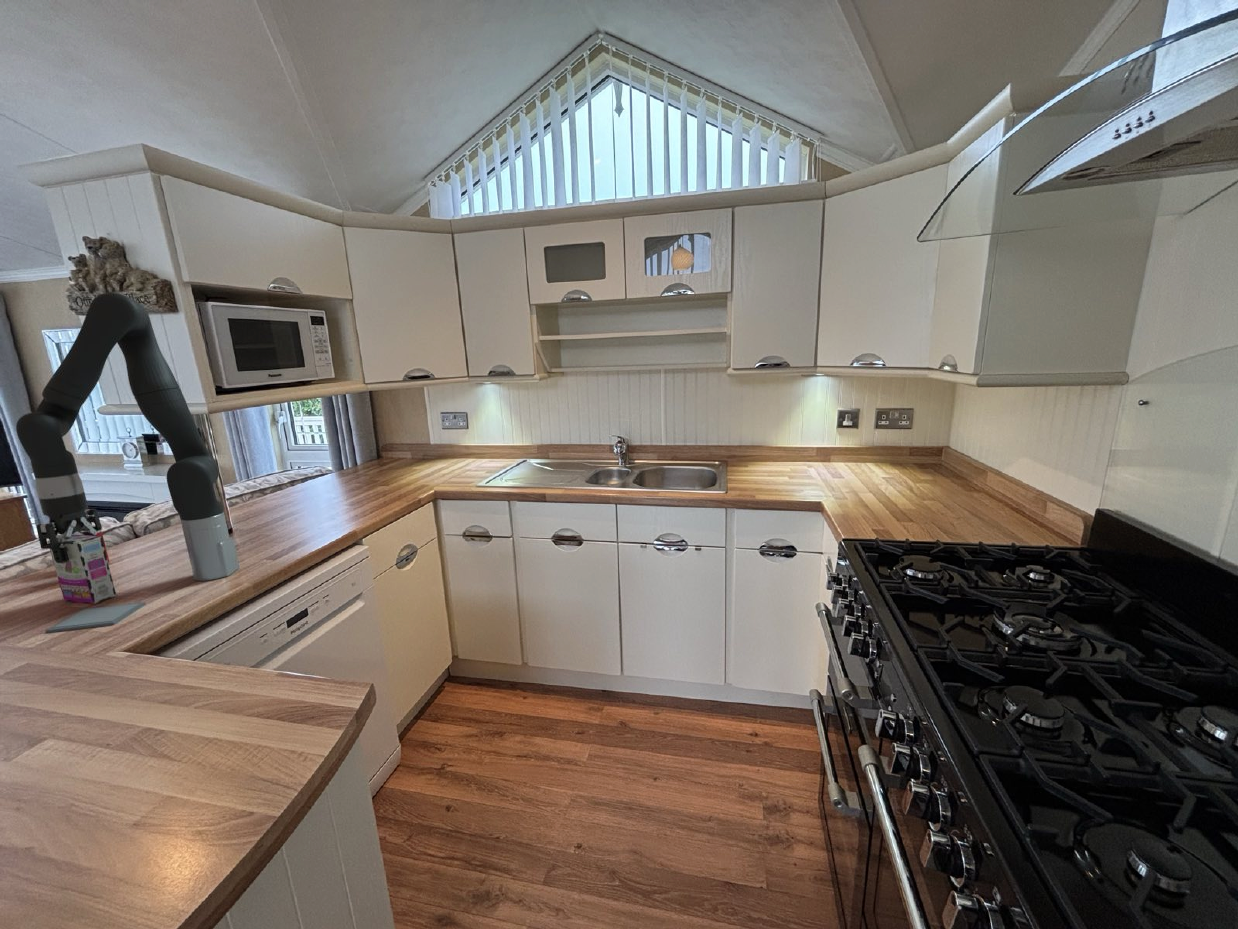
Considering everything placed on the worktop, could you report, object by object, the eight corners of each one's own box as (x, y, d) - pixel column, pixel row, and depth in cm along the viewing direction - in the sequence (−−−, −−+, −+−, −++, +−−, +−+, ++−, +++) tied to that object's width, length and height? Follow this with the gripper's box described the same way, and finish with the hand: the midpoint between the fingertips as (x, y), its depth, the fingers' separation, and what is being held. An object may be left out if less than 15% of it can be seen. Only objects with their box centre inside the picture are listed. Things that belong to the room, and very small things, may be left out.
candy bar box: (118, 595, 127) (102, 535, 124) (94, 605, 123) (77, 542, 119) (87, 592, 130) (71, 533, 127) (63, 601, 125) (45, 540, 122)
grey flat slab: (145, 604, 122) (145, 601, 122) (114, 624, 112) (113, 621, 112) (83, 611, 119) (82, 608, 119) (45, 633, 110) (44, 630, 110)
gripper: (53, 499, 115) (71, 565, 118) (103, 485, 128) (117, 544, 132) (14, 502, 113) (33, 568, 116) (68, 487, 127) (84, 547, 130)
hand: (78, 555), depth 124 cm, fingers open, 8 cm apart
